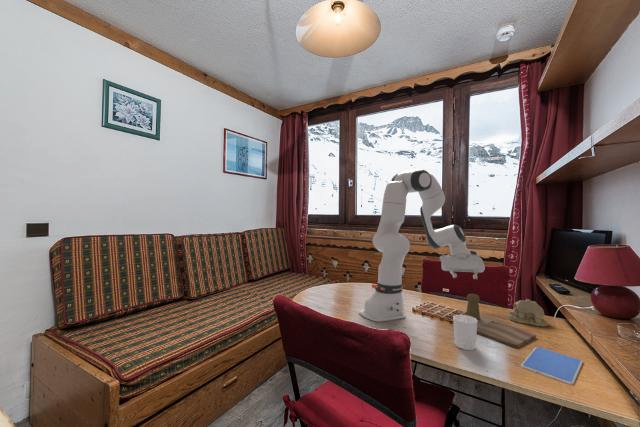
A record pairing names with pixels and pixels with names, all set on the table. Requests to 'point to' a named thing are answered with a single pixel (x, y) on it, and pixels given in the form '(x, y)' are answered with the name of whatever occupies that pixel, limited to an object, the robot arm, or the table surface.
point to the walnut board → (505, 334)
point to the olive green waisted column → (473, 306)
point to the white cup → (465, 331)
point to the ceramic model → (527, 313)
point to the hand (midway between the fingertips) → (465, 277)
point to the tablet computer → (553, 365)
